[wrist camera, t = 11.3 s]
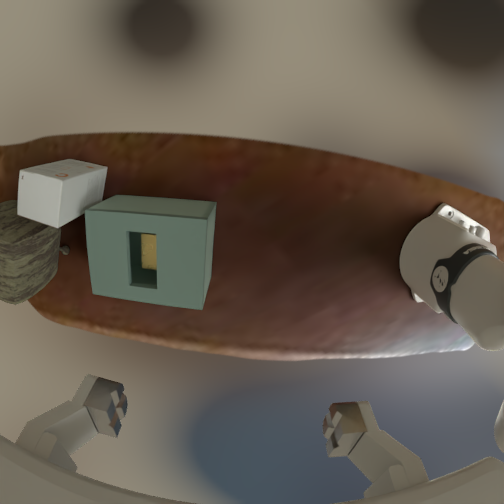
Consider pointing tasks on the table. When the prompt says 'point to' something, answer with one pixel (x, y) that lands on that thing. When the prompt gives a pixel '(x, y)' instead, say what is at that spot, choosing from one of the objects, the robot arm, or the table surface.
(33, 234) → the tabletop clock
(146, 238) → the wooden yellow block
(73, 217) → the small box
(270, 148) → the table surface
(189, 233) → the coin box
